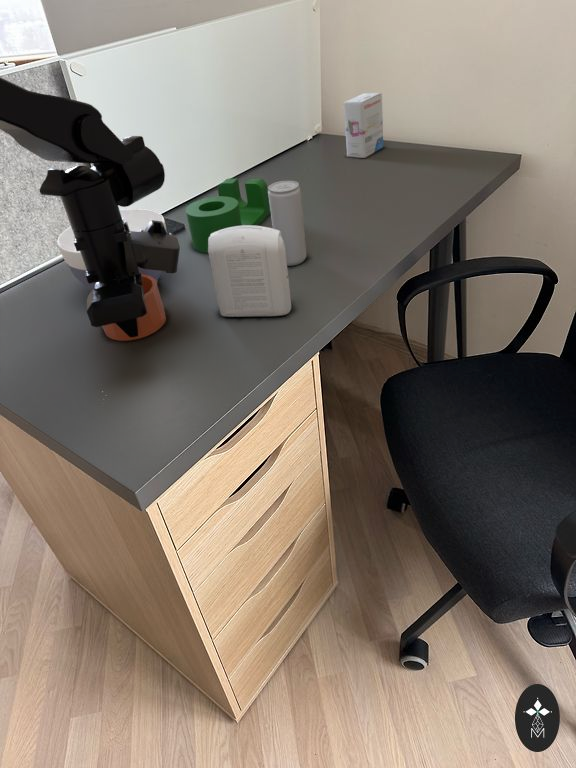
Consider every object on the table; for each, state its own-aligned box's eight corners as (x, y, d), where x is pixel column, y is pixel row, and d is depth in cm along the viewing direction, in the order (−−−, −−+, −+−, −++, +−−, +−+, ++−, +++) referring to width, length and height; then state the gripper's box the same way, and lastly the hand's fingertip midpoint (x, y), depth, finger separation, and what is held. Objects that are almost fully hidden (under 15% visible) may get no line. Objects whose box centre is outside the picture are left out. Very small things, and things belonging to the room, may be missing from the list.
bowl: (145, 255, 99) (130, 201, 93) (198, 280, 89) (185, 222, 83) (61, 292, 91) (39, 235, 85) (109, 324, 81) (87, 263, 76)
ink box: (365, 145, 136) (364, 91, 128) (384, 147, 133) (383, 92, 126) (345, 156, 131) (343, 100, 123) (364, 158, 128) (362, 101, 121)
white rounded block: (294, 301, 81) (284, 218, 73) (290, 317, 77) (279, 231, 70) (224, 304, 82) (207, 222, 75) (217, 320, 79) (199, 236, 72)
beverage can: (306, 265, 89) (299, 189, 82) (276, 268, 90) (266, 193, 82) (306, 252, 93) (299, 178, 86) (277, 254, 93) (268, 181, 86)
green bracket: (230, 254, 96) (224, 217, 92) (184, 251, 99) (175, 215, 95) (270, 212, 108) (266, 178, 104) (228, 211, 111) (222, 178, 108)
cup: (104, 346, 77) (91, 311, 73) (104, 315, 84) (92, 282, 80) (168, 331, 78) (158, 296, 75) (163, 302, 85) (154, 268, 81)
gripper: (174, 236, 59) (204, 358, 68) (159, 185, 74) (186, 291, 83) (65, 259, 58) (111, 381, 67) (72, 202, 72) (110, 309, 82)
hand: (134, 336), depth 75 cm, fingers closed
